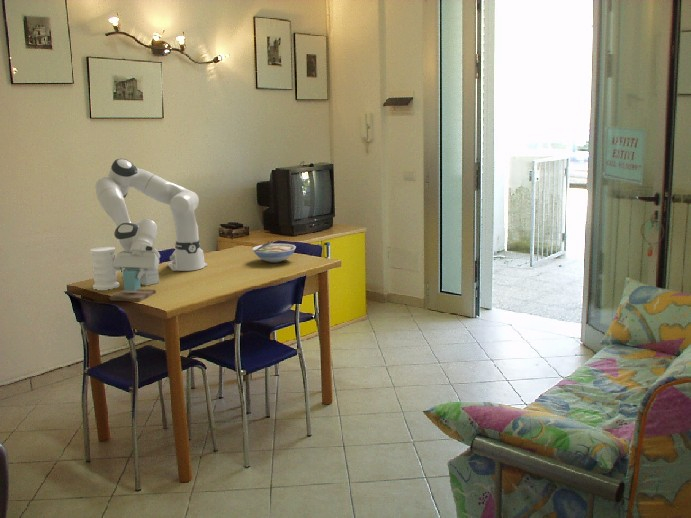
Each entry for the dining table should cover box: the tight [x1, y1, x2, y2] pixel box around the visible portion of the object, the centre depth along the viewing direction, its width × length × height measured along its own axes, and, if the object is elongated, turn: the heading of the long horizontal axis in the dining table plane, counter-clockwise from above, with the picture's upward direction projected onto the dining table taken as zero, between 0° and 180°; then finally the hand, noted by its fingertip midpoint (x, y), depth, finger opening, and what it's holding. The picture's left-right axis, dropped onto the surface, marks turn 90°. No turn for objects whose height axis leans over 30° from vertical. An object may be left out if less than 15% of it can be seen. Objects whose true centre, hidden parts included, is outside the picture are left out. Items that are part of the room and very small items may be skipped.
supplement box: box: [140, 268, 160, 286], centre depth 324 cm, size 7×7×13 cm
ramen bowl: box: [252, 240, 297, 264], centre depth 365 cm, size 25×23×8 cm
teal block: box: [122, 270, 142, 291], centre depth 301 cm, size 5×5×8 cm
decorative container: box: [89, 245, 120, 291], centre depth 318 cm, size 12×12×18 cm
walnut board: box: [109, 288, 157, 302], centre depth 302 cm, size 14×14×2 cm
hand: (130, 278), depth 299 cm, fingers closed on teal block, 5 cm apart
